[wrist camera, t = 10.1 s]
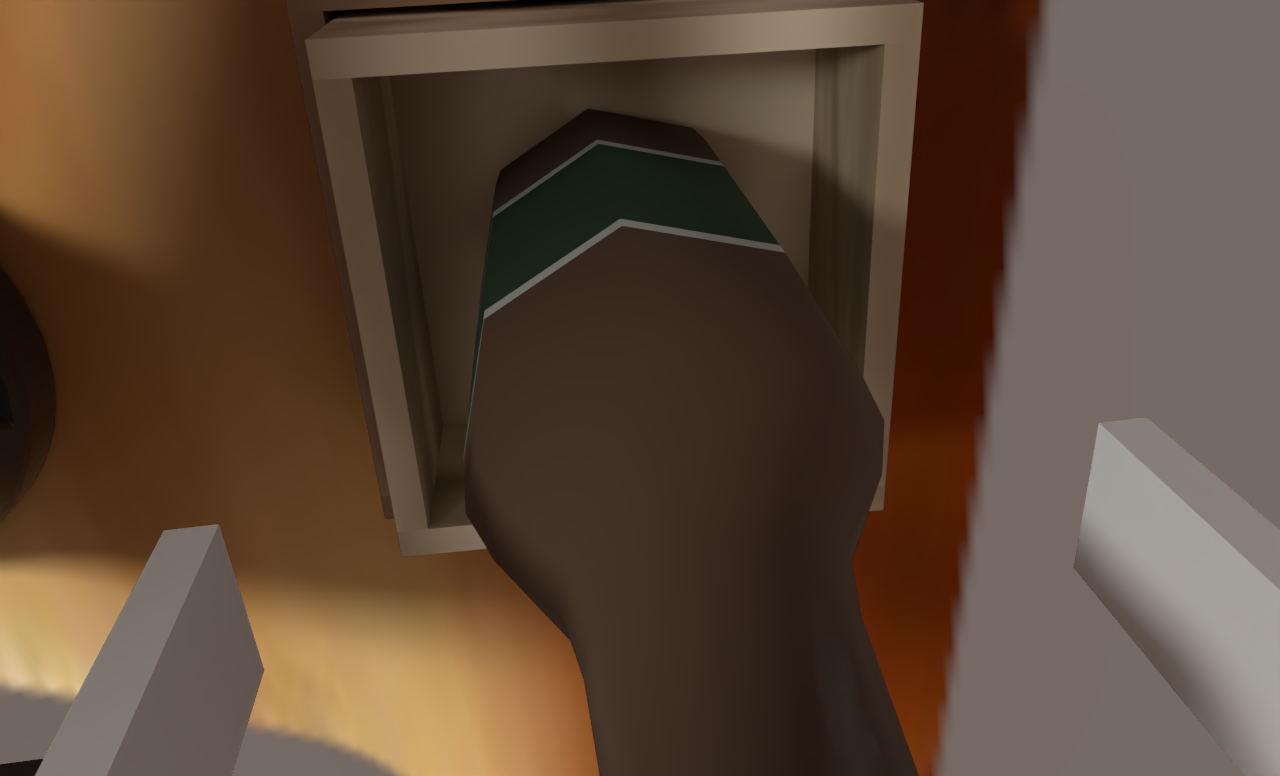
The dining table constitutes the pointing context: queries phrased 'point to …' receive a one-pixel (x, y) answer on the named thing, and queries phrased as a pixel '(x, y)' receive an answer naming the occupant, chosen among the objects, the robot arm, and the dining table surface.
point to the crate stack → (537, 107)
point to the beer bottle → (677, 461)
